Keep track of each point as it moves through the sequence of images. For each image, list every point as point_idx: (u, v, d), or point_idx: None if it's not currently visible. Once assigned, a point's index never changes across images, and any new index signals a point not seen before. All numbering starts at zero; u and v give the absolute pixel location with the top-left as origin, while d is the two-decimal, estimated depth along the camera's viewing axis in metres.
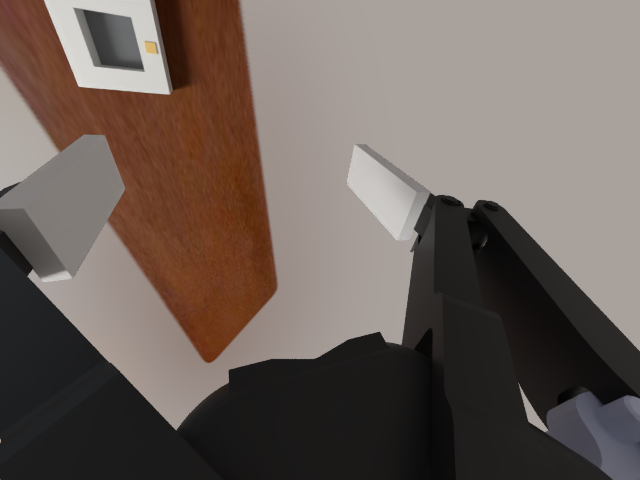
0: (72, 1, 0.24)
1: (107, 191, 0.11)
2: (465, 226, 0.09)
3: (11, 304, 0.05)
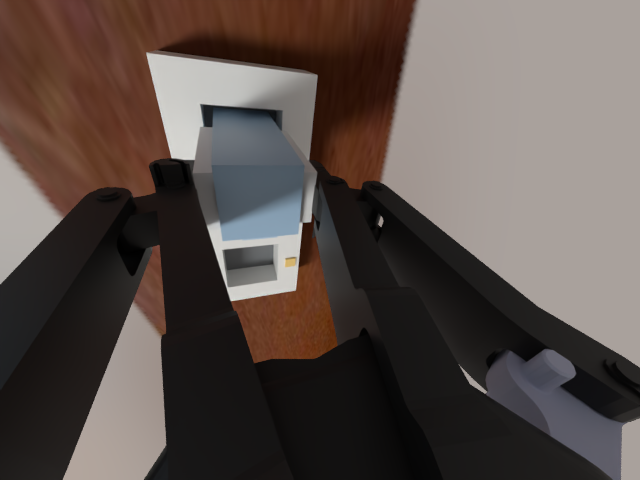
0: (223, 245, 0.20)
1: None
2: (355, 204, 0.09)
3: (195, 244, 0.06)
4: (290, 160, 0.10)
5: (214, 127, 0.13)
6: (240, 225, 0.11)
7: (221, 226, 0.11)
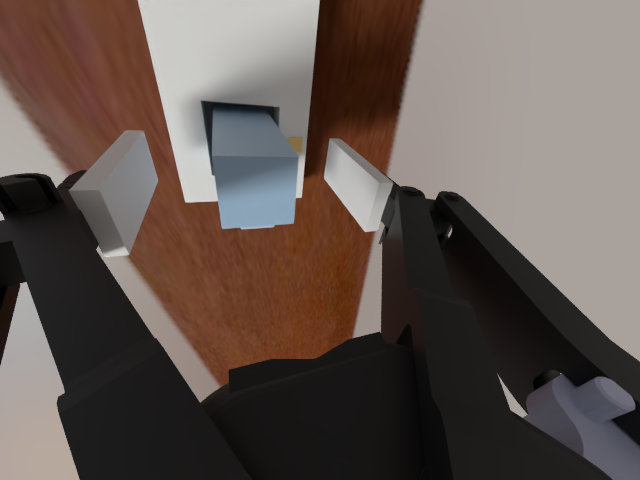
0: (201, 92, 0.15)
1: (147, 181, 0.12)
2: (428, 216, 0.09)
3: (83, 274, 0.05)
4: (285, 152, 0.11)
5: (214, 122, 0.14)
6: (238, 213, 0.12)
7: (221, 214, 0.11)
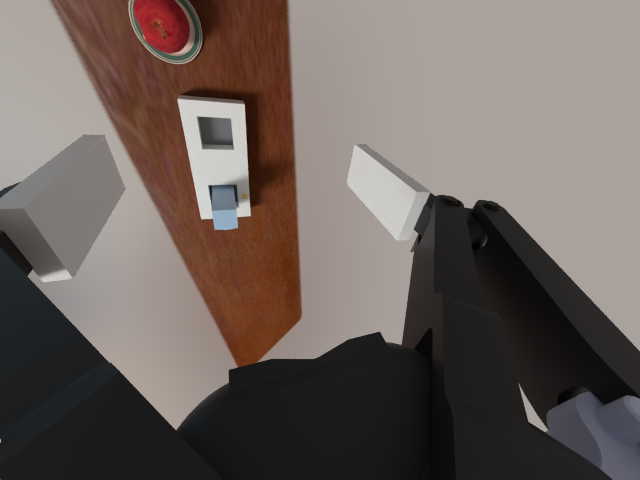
0: (208, 182, 0.42)
1: (107, 191, 0.11)
2: (465, 226, 0.09)
3: (11, 304, 0.05)
4: (233, 207, 0.39)
5: (212, 194, 0.41)
6: (219, 225, 0.40)
7: (214, 225, 0.39)
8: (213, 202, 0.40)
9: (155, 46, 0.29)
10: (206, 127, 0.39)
